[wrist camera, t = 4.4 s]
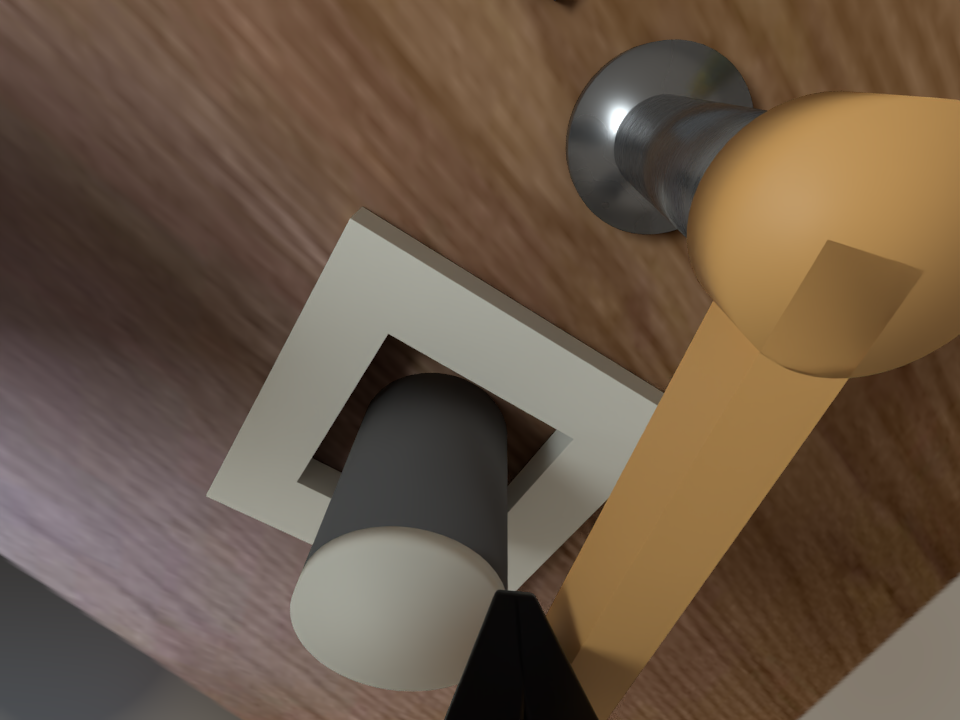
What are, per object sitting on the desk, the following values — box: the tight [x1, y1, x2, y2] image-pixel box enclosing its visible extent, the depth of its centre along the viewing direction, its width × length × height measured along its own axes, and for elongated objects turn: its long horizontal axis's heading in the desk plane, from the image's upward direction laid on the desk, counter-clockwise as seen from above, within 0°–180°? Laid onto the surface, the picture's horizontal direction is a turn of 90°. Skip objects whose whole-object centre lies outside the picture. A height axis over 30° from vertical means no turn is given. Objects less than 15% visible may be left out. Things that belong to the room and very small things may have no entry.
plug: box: [290, 373, 508, 691], centre depth 14 cm, size 4×4×6 cm
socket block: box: [206, 207, 664, 591], centre depth 16 cm, size 10×10×1 cm
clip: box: [546, 91, 960, 720], centre depth 8 cm, size 3×14×1 cm, turn 163°
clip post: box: [566, 40, 767, 238], centre depth 10 cm, size 4×4×7 cm
